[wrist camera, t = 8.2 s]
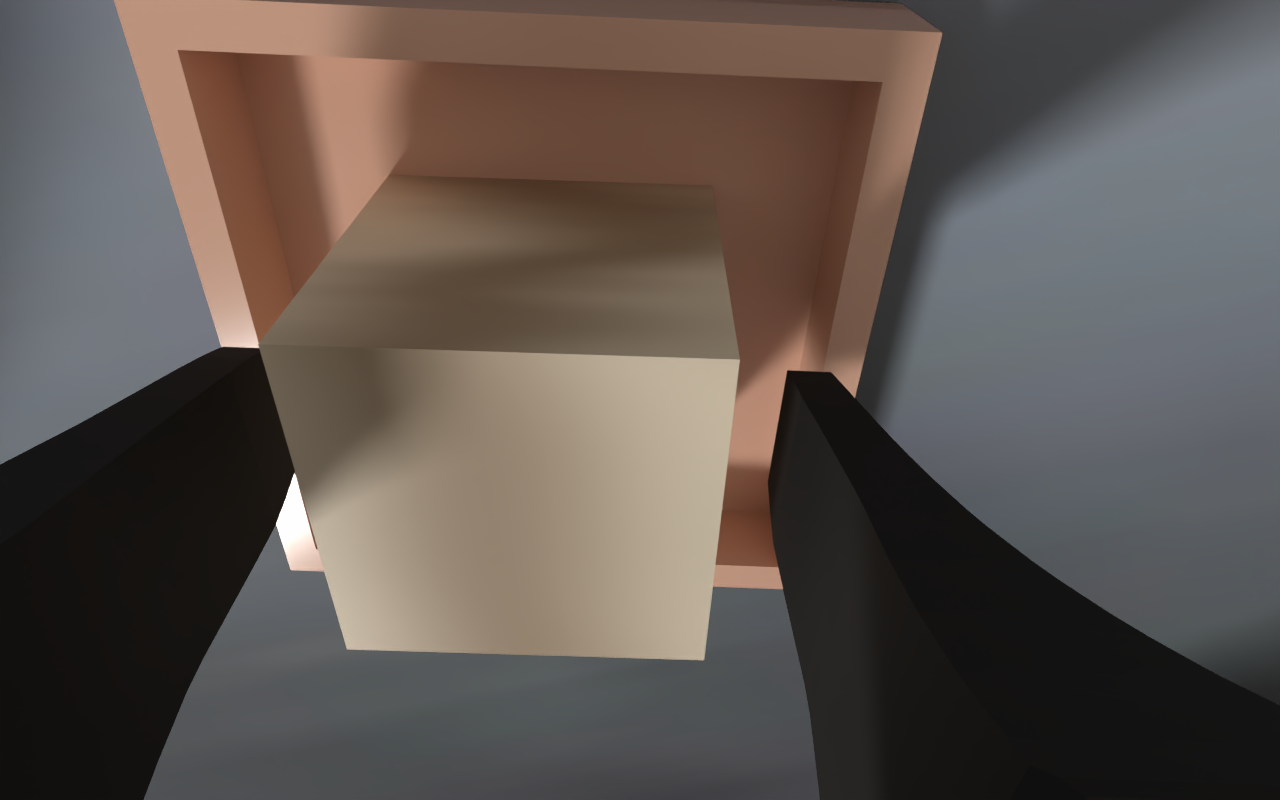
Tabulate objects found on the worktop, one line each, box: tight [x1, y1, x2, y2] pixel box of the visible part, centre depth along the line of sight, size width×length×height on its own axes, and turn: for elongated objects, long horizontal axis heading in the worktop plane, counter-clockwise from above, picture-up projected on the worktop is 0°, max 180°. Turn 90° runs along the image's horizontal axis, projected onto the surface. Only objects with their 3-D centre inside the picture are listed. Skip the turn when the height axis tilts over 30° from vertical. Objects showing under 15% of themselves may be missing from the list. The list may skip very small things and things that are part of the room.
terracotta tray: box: [114, 0, 942, 589], centre depth 13 cm, size 10×10×2 cm
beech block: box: [258, 175, 740, 660], centre depth 12 cm, size 5×5×5 cm
